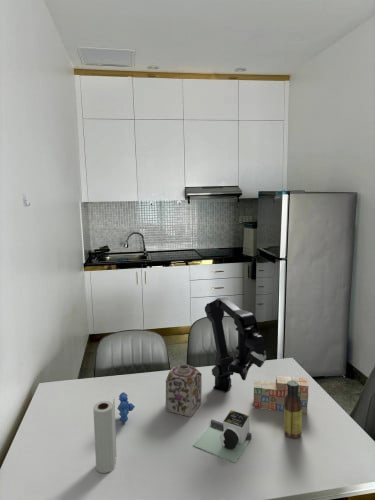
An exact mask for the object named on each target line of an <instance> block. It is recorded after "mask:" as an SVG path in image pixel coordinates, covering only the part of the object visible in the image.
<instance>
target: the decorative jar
mask: <svg viewBox="0 0 375 500" xmlns="http://www.w3.org/2000/svg"><path fill="white" fill-rule="evenodd" d="M202 383H203V382H202V373H201V372H200V371H199V370H198V369H197V368H196V367H195V366H192V365H189V364H186V363H181V364H178V365H176V366H173V367H172V368H171V369H170V370H169V371H168V374H167V376H166V380H165V411H166V412H168V413H169V412H170V413H173V414H176V415H182V416H185V417H189V418H192V417H193V416H194V414H195V413H196V411H197V410H198V408H199V407H200V405H201V404H202V392H203V391H202V386H203V385H202Z"/></svg>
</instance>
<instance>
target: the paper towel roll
mask: <svg viewBox="0 0 375 500" xmlns="http://www.w3.org/2000/svg"><path fill="white" fill-rule="evenodd" d="M93 427H94V428H93V429H94V450H95V451H94V452H95V455H94V456H95V469H96V471H97V472H98V473H101V474H107V473H110V472H112V470H115V469H114V468H115V466H116V464H117V462H116V461H117V437H116V436H117V434H116V433H117V432H116V429H117V428H116V403H115V399H113V400H112V402H111V401H109V400H108V401H107V400H103V401H98V402H97V403H95V404H94V405H93Z"/></svg>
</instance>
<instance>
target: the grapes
mask: <svg viewBox="0 0 375 500" xmlns="http://www.w3.org/2000/svg"><path fill="white" fill-rule="evenodd" d="M118 397H119V398H118V400H119V401H120V402H119V404H118V406H117V410H118V411H119V413H118V415H119V416H120V417H119V419H118V420H119V421H120V422H121V423H122V424H125V423H126V422H127V421H128V420H129V417H128V414H129V413H130V412H131V411H133V410H134V409H135V407H136V405H134V404H133V403H131V402H129V401H128V399H129V398H128V394H127V393H126V392H121V393H120V395H118Z"/></svg>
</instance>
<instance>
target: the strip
mask: <svg viewBox="0 0 375 500" xmlns="http://www.w3.org/2000/svg"><path fill="white" fill-rule="evenodd" d="M210 427H213V428H216V427H217V428H216V429H218V430H219V429H220V430H221V431H222V430H223V431H224V428H223V422H220V421H217V420H215V419H211V420H210ZM246 439H247V440H248V441H250V440H251V439H252V433H251V432H250V431H249V432H248V434H247V437H246Z"/></svg>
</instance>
